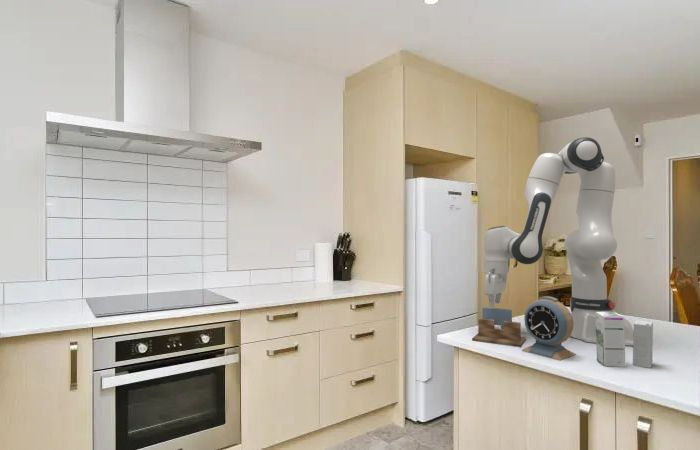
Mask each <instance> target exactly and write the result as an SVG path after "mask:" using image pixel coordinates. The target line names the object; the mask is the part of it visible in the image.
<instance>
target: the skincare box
mask: <svg viewBox="0 0 700 450" xmlns="http://www.w3.org/2000/svg"><path fill="white" fill-rule="evenodd" d="M653 334H654V322H653V321H649V320H646V321H645V320H638V319H636V320H635V321H634V323H633V346H632V348H633V349H632V365H633V366H637V367H641V368H648V369H649V368H651V367H652V364H653V351H654V350H653V347H654V345H653V340H654V338H653V336H654V335H653Z"/></svg>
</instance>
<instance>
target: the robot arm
mask: <svg viewBox="0 0 700 450" xmlns="http://www.w3.org/2000/svg"><path fill="white" fill-rule="evenodd" d="M604 160H605V157H604V155H603V153H602V148H601V146H600V144H599V142H598V141H597V140H596V139H594V138H592V137H589V136H588V137H586V136H585V137H579V138H576V139H574V140H573V141H570V142H569V143H567V144H566V145H565V146H564V147H563V148H562V149H560V150H559V151H558V152H557V153H553V152H545V153H542V154H540V155H538V157H537V159H536V160H535V162H534V164H533V165H532V167H531V169H530V172H529V175H528V176H527V177H528V178H527V180H526V184H525V188H524V199H525V200H526V202H527V204H528V212H527V213H528V214H527V216H526V220H525V222H524V226H523V229H522V232H521V233H518V232H515V231H513V230H512V229H510V228H509V227H508V226H506V225H500V226H492V227H490V228H488V229H487V230H486V232H485V236H484V245H483V246H484V248H483V250H484V258H483V273H485V274H486V275H485V277H484V287H483V288H484V296H488V297H487V299H488V304H489V305H488V307H489V308H495V306H496V304H500V303H501V299H502V293H503V292H504V291H505V290H506V287H507V280H508V274H509V270H510V267H509V260H510V259H512V260H516V262H519V264H521V265H522V264H523V265H532V264H534V263H537V262H538V261H539V260H540V258H541V257H542V255H543V248H544V247H543V233H544V229H545V225H546V222H547V220H548V216H549V211H550V210H551V206H552V204H553V201H554V200H555V197H556V195H557V192H558V190H559V187H560V184H561V181H562V178H563V177H564V175H565V174H567V175H569V174H576V173H578V175H579V177H580V178H579V179H580V185H579V189H578V197H577V205H576V214H577V217H578V229H576V230H573V231H572V232H570V233H569V234H568V235H566V237H565V239H564V242H563V246H564V248H565V250H566V253H567V258H568V263H569V268H570V275H571V296H570V300H569V303H570V304H569V305H570V307H569V308H570V313H571V315H572V318H573V324H574V325H573V330H572V333H571V335H570V337H571V338H575V339H578V340H582V341H583V342H586V343H594V344H596V312H615V313H618V312H617V311H616V310H614V309H615V308H616V303H615V302H614V301H612V300H611V299H609V298H608V289H607V288H608V287H607V286H608V284H607V283H608V281H607V280H608V279H607V275H606V273H605V272H604V269H603V265H602V261H604V260H606V259H609V258H610V257H612V256H614V255H615V253H616V251H617V248H618V244H617V241H616V238H615V236H614V230H613V223H612V211H613V205H614V204H613V203H614V197H615V191H616V171H615V167H614V166H613V165H612V164H611V163H608V162H606V161H604ZM624 330H625V346H632V347H633V333H634V327H633V325H632V324H631V322H630V321H629V320H628V319H626V318H625V317H624Z"/></svg>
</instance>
